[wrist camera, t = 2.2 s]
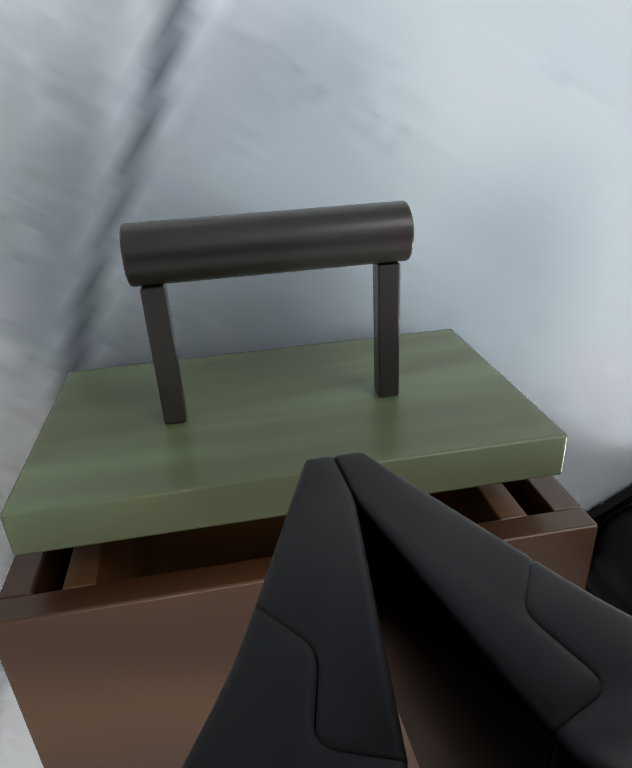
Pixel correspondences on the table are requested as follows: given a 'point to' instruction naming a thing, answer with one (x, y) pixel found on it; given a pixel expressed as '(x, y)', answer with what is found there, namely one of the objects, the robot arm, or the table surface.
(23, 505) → the drawer
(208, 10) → the table surface
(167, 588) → the cabinet
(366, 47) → the table surface
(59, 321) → the table surface
